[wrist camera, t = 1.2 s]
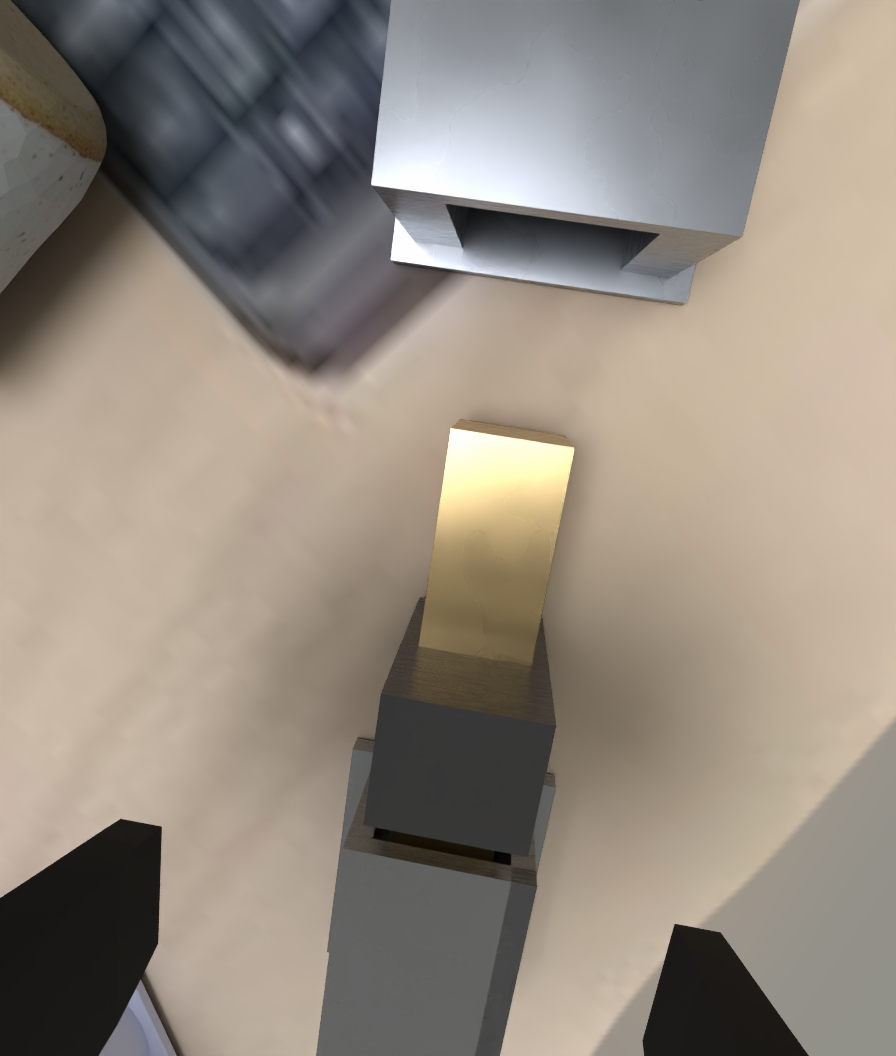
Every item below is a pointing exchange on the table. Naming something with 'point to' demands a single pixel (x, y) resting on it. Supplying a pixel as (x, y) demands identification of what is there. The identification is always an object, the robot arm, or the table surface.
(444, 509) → the two-tone block
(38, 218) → the ceramic mug
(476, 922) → the steel sleeve
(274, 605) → the table surface
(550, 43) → the grey square bracket
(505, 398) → the table surface
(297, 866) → the table surface
